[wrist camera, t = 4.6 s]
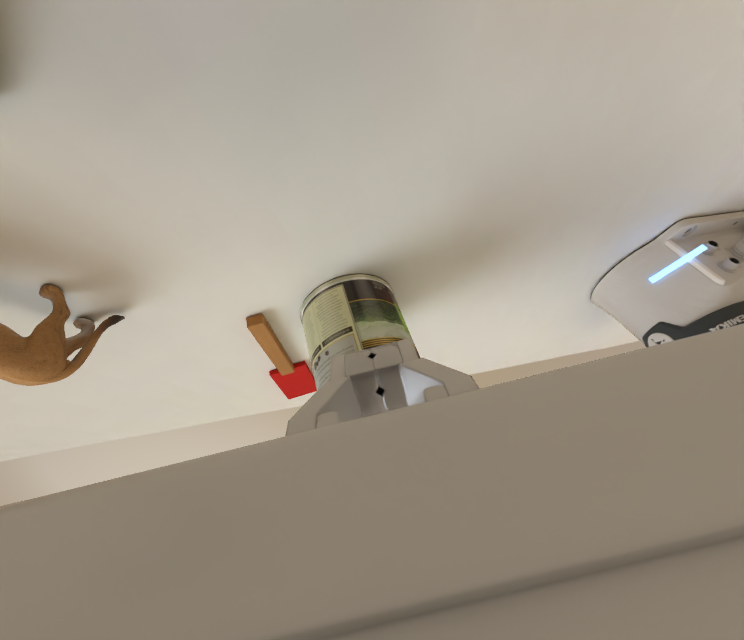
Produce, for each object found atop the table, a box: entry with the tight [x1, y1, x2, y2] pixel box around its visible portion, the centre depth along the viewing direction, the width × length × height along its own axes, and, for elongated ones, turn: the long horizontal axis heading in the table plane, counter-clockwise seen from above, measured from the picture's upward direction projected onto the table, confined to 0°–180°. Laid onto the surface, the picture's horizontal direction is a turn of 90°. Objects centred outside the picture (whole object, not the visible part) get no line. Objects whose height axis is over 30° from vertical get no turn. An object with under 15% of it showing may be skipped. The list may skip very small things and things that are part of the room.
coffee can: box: [300, 274, 420, 391], centre depth 33 cm, size 10×10×14 cm
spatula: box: [246, 314, 317, 399], centre depth 41 cm, size 4×19×1 cm, turn 6°
